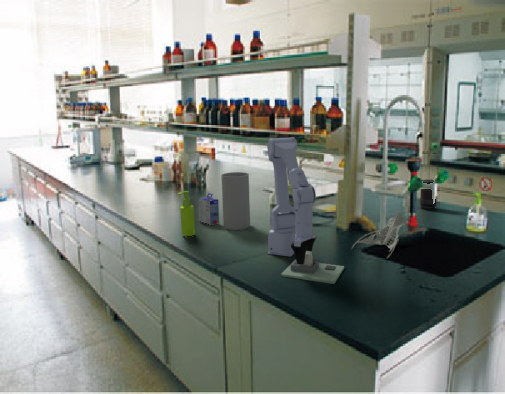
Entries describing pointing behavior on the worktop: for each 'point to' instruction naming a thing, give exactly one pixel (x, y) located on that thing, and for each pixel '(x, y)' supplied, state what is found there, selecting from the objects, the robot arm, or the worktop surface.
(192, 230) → the soap dispenser
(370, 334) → the worktop surface
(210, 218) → the ink cartridge box
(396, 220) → the skeletal model
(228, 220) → the cylinder vase
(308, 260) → the keyed plug
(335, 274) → the white board with tray
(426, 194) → the camera lens
